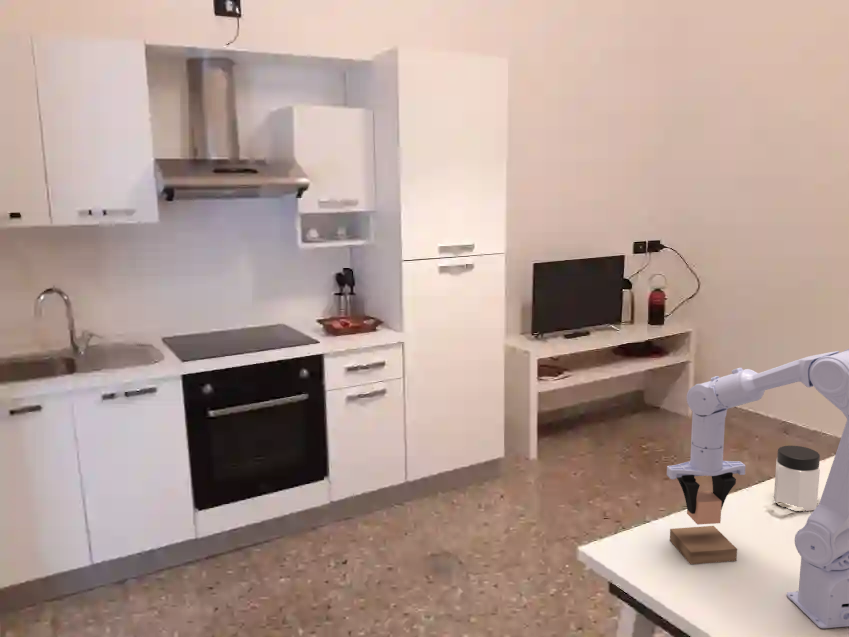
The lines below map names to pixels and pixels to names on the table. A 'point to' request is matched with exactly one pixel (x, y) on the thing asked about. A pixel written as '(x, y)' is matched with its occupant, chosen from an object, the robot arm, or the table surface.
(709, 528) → the base block
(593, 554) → the table surface
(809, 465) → the jar
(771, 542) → the table surface
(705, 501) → the cube
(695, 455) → the robot arm
